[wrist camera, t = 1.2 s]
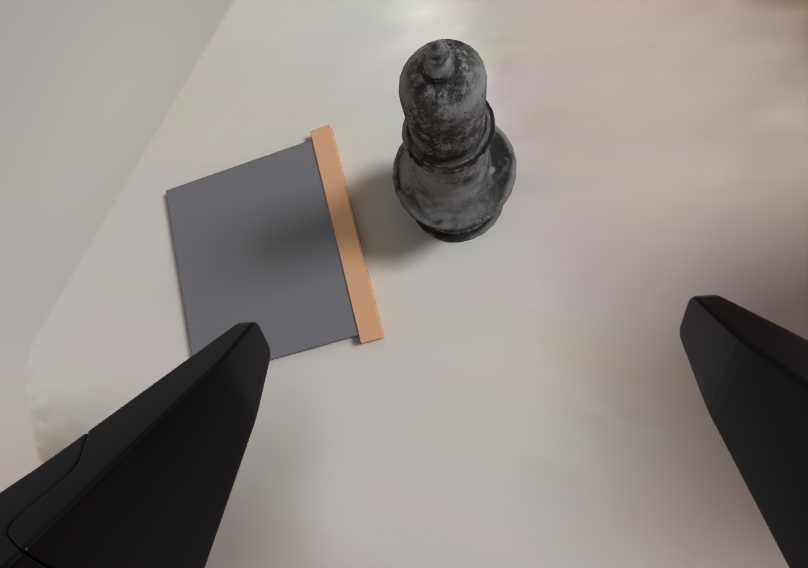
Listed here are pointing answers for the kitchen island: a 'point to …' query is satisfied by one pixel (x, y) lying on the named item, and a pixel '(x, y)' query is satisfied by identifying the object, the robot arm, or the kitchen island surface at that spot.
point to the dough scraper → (274, 251)
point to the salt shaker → (451, 144)
